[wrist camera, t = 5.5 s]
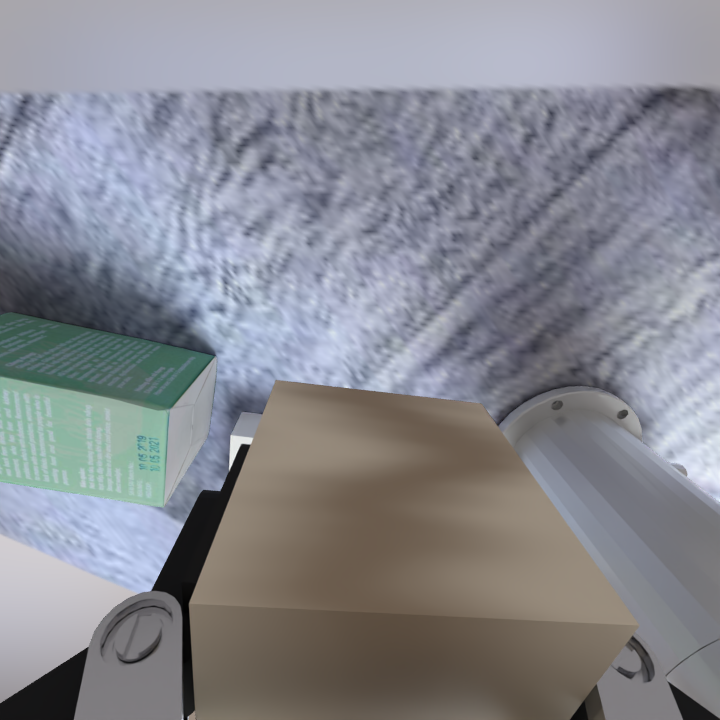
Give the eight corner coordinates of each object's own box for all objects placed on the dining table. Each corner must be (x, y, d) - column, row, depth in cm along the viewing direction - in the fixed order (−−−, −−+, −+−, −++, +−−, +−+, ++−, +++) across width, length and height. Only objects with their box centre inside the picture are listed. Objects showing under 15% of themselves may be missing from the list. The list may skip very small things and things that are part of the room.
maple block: (481, 403, 10) (639, 625, 5) (434, 546, 13) (504, 807, 7) (275, 380, 10) (188, 602, 4) (265, 535, 12) (200, 809, 7)
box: (4, 307, 23) (-141, 352, 16) (219, 351, 25) (173, 408, 18) (18, 403, 25) (-100, 476, 19) (210, 435, 27) (167, 512, 21)
